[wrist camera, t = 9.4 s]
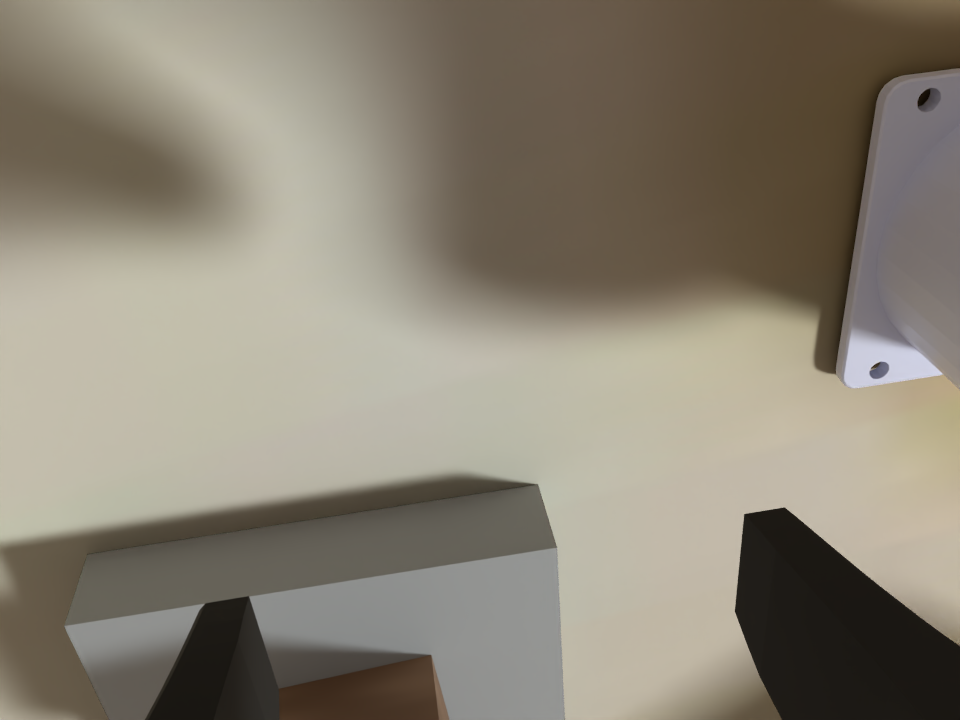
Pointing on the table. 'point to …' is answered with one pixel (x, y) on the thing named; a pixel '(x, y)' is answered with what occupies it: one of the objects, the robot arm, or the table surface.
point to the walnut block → (369, 695)
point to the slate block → (346, 603)
